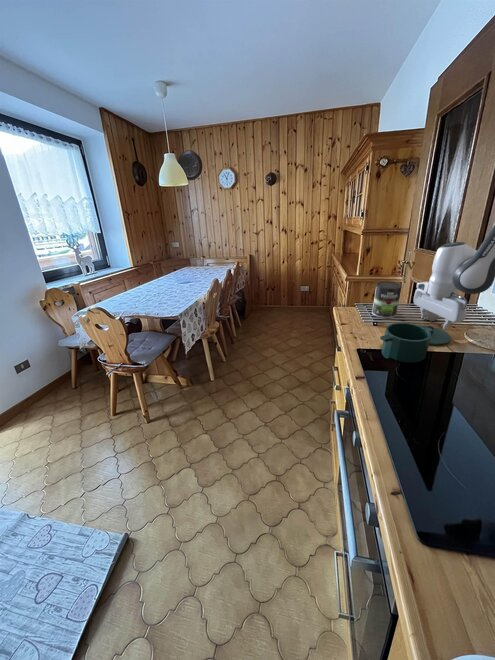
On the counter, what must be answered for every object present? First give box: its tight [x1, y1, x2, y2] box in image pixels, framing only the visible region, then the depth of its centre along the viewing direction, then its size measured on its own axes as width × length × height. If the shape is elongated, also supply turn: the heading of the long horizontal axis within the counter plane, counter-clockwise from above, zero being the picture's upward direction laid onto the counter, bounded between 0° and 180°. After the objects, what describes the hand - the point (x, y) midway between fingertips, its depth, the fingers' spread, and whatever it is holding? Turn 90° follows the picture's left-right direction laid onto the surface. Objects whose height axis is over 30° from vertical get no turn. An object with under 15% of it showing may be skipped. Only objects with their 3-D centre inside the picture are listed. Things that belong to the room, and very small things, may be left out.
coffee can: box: [371, 280, 403, 319], centre depth 128 cm, size 10×10×14 cm
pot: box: [379, 322, 434, 363], centre depth 98 cm, size 14×19×10 cm
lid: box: [421, 325, 452, 346], centre depth 109 cm, size 15×15×4 cm
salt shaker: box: [426, 310, 440, 322], centre depth 120 cm, size 6×6×13 cm
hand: (433, 323), depth 108 cm, fingers open, 8 cm apart
